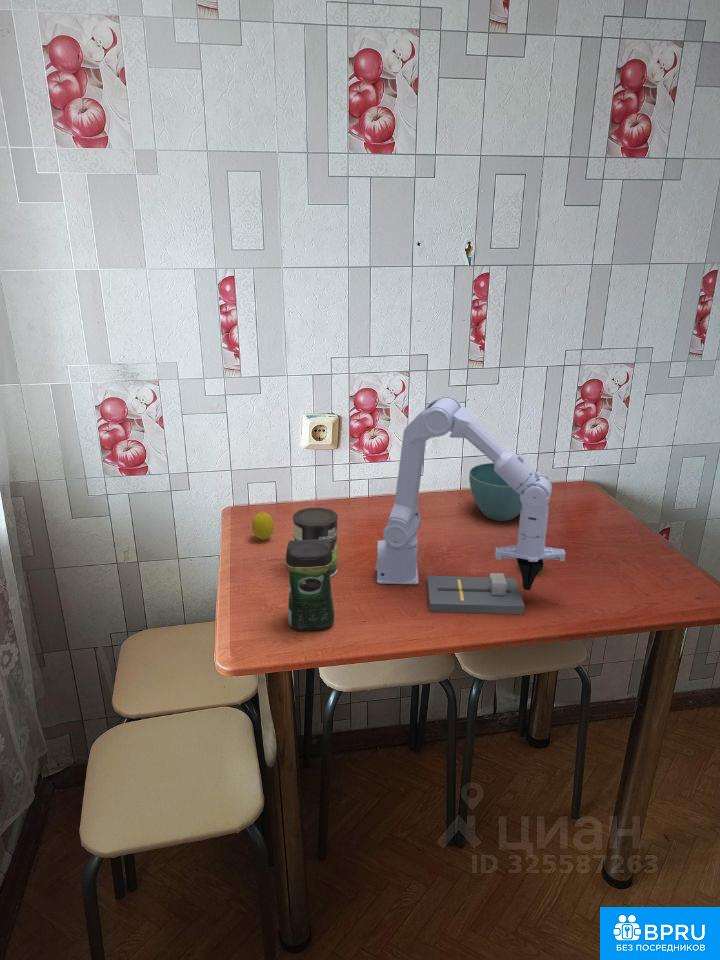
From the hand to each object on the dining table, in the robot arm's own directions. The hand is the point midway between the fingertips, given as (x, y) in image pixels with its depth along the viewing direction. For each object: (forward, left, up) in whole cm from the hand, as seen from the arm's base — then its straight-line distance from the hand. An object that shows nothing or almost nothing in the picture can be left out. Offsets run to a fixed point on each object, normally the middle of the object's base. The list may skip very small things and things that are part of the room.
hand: (526, 587), depth 158 cm
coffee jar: (-46, -11, -3) cm, 48 cm away
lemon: (-62, +26, -3) cm, 68 cm away
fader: (-6, 0, -1) cm, 6 cm away
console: (-11, 0, -3) cm, 12 cm away
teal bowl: (+1, +45, -3) cm, 45 cm away
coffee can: (-47, +11, -3) cm, 49 cm away
